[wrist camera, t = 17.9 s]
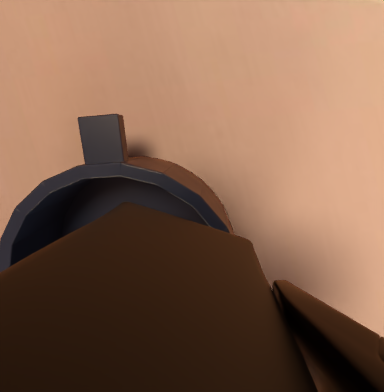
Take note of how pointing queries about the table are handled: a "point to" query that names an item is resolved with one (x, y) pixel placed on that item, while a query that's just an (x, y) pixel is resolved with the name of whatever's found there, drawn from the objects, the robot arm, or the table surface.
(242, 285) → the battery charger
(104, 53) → the table surface
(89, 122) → the pan
